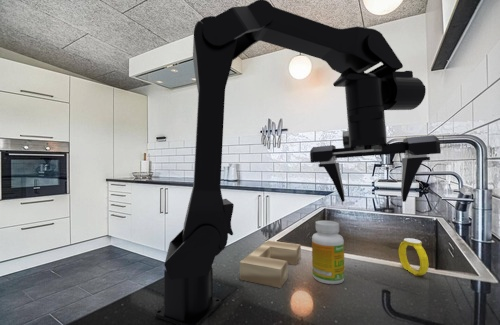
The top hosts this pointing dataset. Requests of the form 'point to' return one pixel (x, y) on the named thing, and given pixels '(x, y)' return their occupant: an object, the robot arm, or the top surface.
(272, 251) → the beige c-shaped block
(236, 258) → the top surface
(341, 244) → the supplement bottle
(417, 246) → the watch
